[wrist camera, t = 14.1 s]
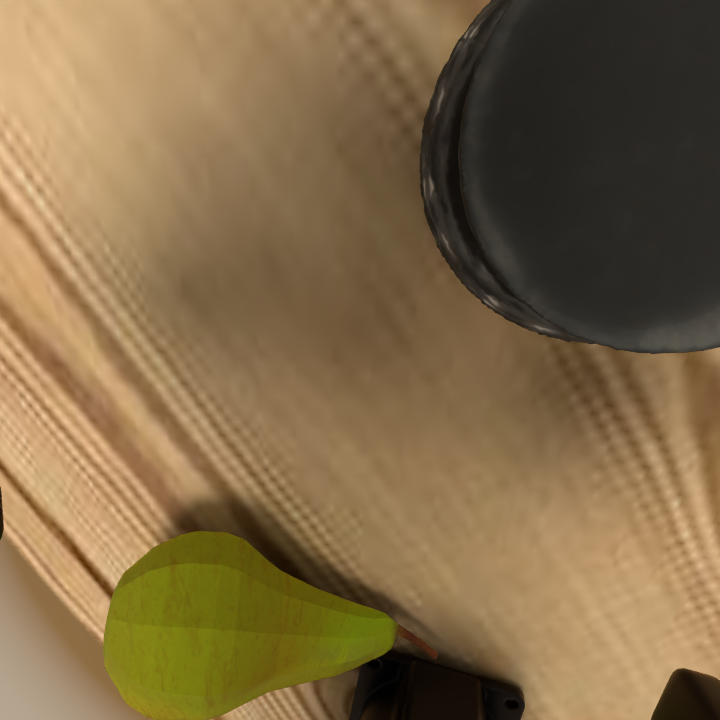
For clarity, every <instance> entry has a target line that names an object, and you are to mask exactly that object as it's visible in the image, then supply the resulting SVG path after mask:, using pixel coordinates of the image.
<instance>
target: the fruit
mask: <svg viewBox="0 0 720 720" xmlns="http://www.w3.org/2000/svg"><path fill="white" fill-rule="evenodd" d="M397 636H399V637H402V638H404V639H406V640H409V641H410V642H412V643H413V644H415V645H416V646H418V647H420V648H421V649H423V650H424V651H425V652H426V653H427V654H428V655H429V656H430V657H431V658H432V659H434V660H435V659H436V657H437V655H438V653H437V652H436V651H434V650H433V649H432V648H431V647H430V646H428V645H427V644H426V643H425V642H424V641H422V640H421V639H419V638H418V637H417V636H415V635H414V634H412V633H411V632H409V631H408V630H406V629H405V628H403V627H402V626H400V625H399V624H397V623H396V621H394V620H393V619H392V618H391V617H390V616H388V615H387V614H386V613H384V612H381V611H378V610H376V609H373V608H370V607H367V606H363V605H360V604H357V603H354V602H351V601H349V600H346V599H343V598H341V597H338V596H336V595H333V594H330V593H328V592H325V591H323V590H320V589H317V588H315V587H313V586H311V585H309V584H307V583H305V582H303V581H301V580H299V579H296V578H294V577H292V576H290V575H288V574H287V573H285V572H283V571H281V570H279V569H278V568H277V567H276V566H274V565H273V564H272V563H271V562H269V561H268V560H267V559H266V558H265V557H264V556H263V555H262V554H260V553H259V552H258V551H257V550H256V549H255V548H254V547H253V546H251V545H250V544H249V543H248V542H247V541H246V540H245V539H243V538H240V537H237V536H235V535H232V534H229V533H226V532H210V531H195V532H191V533H187V534H183V535H179V536H176V537H174V538H172V539H170V540H168V541H166V542H164V543H162V544H160V545H158V546H156V547H154V548H153V549H152V550H150V551H149V552H148V553H147V554H146V555H144V556H143V557H142V558H141V559H140V560H139V561H137V562H136V563H135V564H134V565H133V566H132V567H130V568H129V569H128V570H127V571H126V572H124V574H123V576H122V577H121V579H120V581H119V583H118V585H117V586H116V588H115V590H114V593H113V596H112V599H111V603H110V607H109V612H108V616H107V621H106V627H105V634H104V643H103V651H104V661H105V669H106V670H107V672H108V674H109V676H110V677H111V679H112V680H113V682H114V684H115V685H116V687H117V689H118V690H119V692H120V693H121V695H122V697H123V699H124V700H125V702H126V703H127V704H128V705H130V706H131V707H133V708H134V709H136V710H137V711H138V712H140V713H141V714H143V715H144V716H146V717H148V718H151V719H154V720H209V719H212V718H215V717H218V716H221V715H223V714H225V713H227V712H229V711H231V710H233V709H235V708H237V707H239V706H241V705H243V704H245V703H247V702H249V701H251V700H253V699H255V698H257V697H259V696H261V695H264V694H266V693H268V692H270V691H274V690H278V689H282V688H286V687H290V686H294V685H298V684H303V683H307V682H311V681H315V680H320V679H325V678H330V677H334V676H336V675H339V674H342V673H344V672H347V671H350V670H352V669H354V668H356V667H358V666H360V665H362V664H364V663H366V662H369V661H371V660H373V659H375V658H377V657H379V656H382V655H384V654H385V653H386V652H388V651H389V650H390V649H391V648H392V647H393V645H394V642H395V640H396V637H397Z"/></svg>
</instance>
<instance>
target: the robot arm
mask: <svg viewBox="0 0 720 720" xmlns="http://www.w3.org/2000/svg"><path fill="white" fill-rule="evenodd" d="M3 530H4V524H3V510H2V495H1V487H0V540H1V537H2V534H3ZM375 659H376V660H378V661H375V660H371V661H369V662H366V663H364V664H362V665H361V668H360V672H359V677H358V682H357V686H356V691H355V696H354V700H353V705H352V710H351V714H350V719H349V720H520V719H521V716H522V714H523V711H524V707H525V702H524V695H523V692H522V691H521V690H520V689H519V688H517V687H515V686H512V685H508V684H505V683H502V682H498V681H495V680H491V679H488V678H484V677H481V676H477V675H474V674H471V673H467V672H464V671H460V670H457V669H453V668H450V667H446V666H443V665H440V664H436V663H433V662H429V661H426V660H422V659H419V658H415V657H412V656H409V655H405V654H402V653H398V652H395V651H391V650H389V651H388V652H386V653H385V654H384V655H382V656H379V657H377V658H375ZM509 699H513V700H509ZM651 720H720V680H718V679H717V678H715V677H713V676H710V675H707V674H703V673H699V672H696V671H692V670H688V669H684V668H681V669H677V670H675V671H674V672H673V673H672V675H671V677H670V679H669V681H668V683H667V685H666V687H665V689H664V691H663V693H662V696H661V698H660V700H659V702H658V704H657V706H656V708H655V710H654V713H653V715H652V718H651Z"/></svg>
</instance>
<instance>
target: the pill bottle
mask: <svg viewBox="0 0 720 720" xmlns="http://www.w3.org/2000/svg"><path fill="white" fill-rule="evenodd" d="M420 181H421V183H420V187H421V195H422V198H423V202H424V212H425V216H426V219H427V222H428V225H429V228H430V230H431V232H432V234H433V236H434V238H435V241H436V243H437V247H438V248H439V250H440V252H441V254H442V256H443V257H444V258H445V260H446V262H447V263H448V264H449V266H450V268H451V269H452V270H453V271H454V273H455V275H456V276H457V277H458V278H459V279H460V281H461V283H462V284H464V285H465V286H466V288H467V289H468V290H469V291H470V292H471V293H472V294H474V295H475V296H476V297H477V298H479V299H480V300H481V302H482V303H483V304H484V305H486V306H487V307H488V308H490V309H492V310H493V311H494V312H495V313H497V314H499V315H501V316H502V317H504V318H505V319H506V320H508V321H511V322H513V323H515V324H517V325H519V326H521V327H523V328H526V329H528V330H530V331H534V332H537V333H538V334H539V335H546V336H548V337H551V338H556V339H561V340H564V341H567V342H570V341H573V342H582V343H588V344H598V345H602V346H607V347H610V348H613V349H616V350H624V351H630V352H637V353H651V354H658V353H686V352H694V351H704V350H708V349H713V348H718V347H720V0H491V1H490V3H489V4H488V5H487V6H485V7H484V9H483V10H482V11H481V12H480V14H478V15H477V17H476V18H475V19H474V20H473V22H472V23H471V24H470V26H469V27H468V29H467V31H466V32H465V33H464V34H463V35H462V37H461V38H460V39H459V40H458V42H457V44H456V45H455V47H454V49H453V51H452V53H451V55H450V58H449V60H448V62H447V63H446V64H445V66H444V68H443V69H442V71H441V73H440V75H439V77H438V80H437V83H436V87H435V90H434V93H433V96H432V98H431V100H430V105H429V108H428V110H427V113H426V115H425V118H424V125H423V129H422V141H421V153H420Z"/></svg>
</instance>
